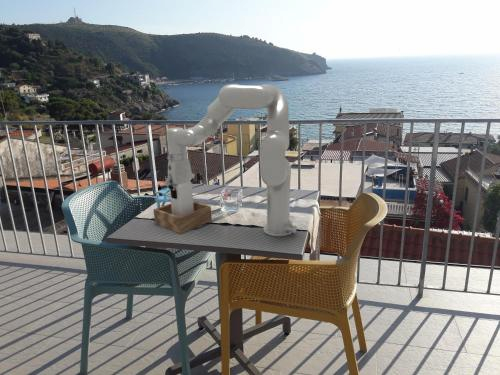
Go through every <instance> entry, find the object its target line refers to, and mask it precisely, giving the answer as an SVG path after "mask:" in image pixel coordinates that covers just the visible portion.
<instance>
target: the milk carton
mask: <svg viewBox="0 0 500 375" xmlns="http://www.w3.org/2000/svg"><path fill="white" fill-rule="evenodd" d="M169 184H170V183H169ZM173 185H174V184H173ZM175 190H176V192H177V199H174V198H172V197H171V190H170V192H169V196H170V200H169V201H170V204H171V210H172V214H173V215H176V216H179V217H181V216H184V215H186V214H189V213H191V212H194V206H193V201H194V197H193V182H192V183H191V181H187V182H184V183H181V184H178V185H176V188H175Z"/></svg>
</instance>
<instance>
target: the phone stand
mask: <svg viewBox="0 0 500 375" xmlns="http://www.w3.org/2000/svg"><path fill="white" fill-rule="evenodd" d="M154 193H155V196H156V198H154V201H155V202H156V206H157V207H156V208H159V207H162V206H165V205H166V203H168V202H169V201H171V200H170V195H168V194H170V189H169V188H168V187H164V188H161V189H159V190H158V191H155V192H154ZM158 194H161V196H159V195H158Z"/></svg>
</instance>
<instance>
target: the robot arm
mask: <svg viewBox="0 0 500 375" xmlns="http://www.w3.org/2000/svg"><path fill="white" fill-rule="evenodd" d="M263 109H266V110H267V111H266V112H267V114H266V135H265V136H264V137H262V140H261V142H260V146H259V147H260V148H259V149H260V150H259V156H260V157H259V161H260V162H259V164H260V165H259V166H260V168H259V170H260V172H259V173H260V177H261V180H262V182H263V183H264V184H265V186H266V225H264V226H263V232H264V234H266V235H269V236H272V237H285V236H290V235H291V234H293V233H297V229H298V226H297V225H293V221H292V220H291V207H290V206H291V177H292V176H291V175H292V167H291V163H290V161H289V160H288V159H287V157H286V152H287V151H288V149H289V146H290V118H289V117H290V114H289V113H290V112H289V111H290V110H289V102H288V99H287V97H286V95H285V93H283V91H281V89H279V87H276V86H274V85H273V84H266V83H265V84H260V85H241V84H238V83H230V84H226V85H224V86H223V87H221V89H220V90H219V92H218V96H217V97H216V99H214V100H213V101H212V102H211V103H210V105H208V106H207V108H206V110H207V111H206V114H205V115H204V116H203V118H202V119H201V120H200V121H199V122H198V123H197V124H196V125H195V126H194V125H193V126H192V127H189V128H185V129H184V128H183V127H180V126H179V127H177V126H176V127H169V128H168V129H166V138H167V139H166V140H167V150H168V156H167V160H168V163H167V178H166V179H165V181H164V182H163V184H164V186H166V188H169V189H170V190H171V197H172V198H174V199H177V192H176V190H175V188H176V185H178V184H181V183H184V182H187V181H191V183H192V184H193V181H194V179H195V178H194V177H195V176H196V175H195V173H193V172H192V166H191V162H190V160H189V157H188V155H187V147H188V148H193V147H195V146H197V145H199V144H201V143H204V142H205V141H206V140H207V139H209V137H210V136H211V135H213V134H214V133H215V132H216V131H217V130H218V129H219V127H221V125H222V124H223V123H224V122H225V121H226V120H227V119H229V117H230V116H231V115H233V113H235V112H236V111H237V110H255V111H256V110H257V111H258V110H263ZM169 183H170V184H169ZM173 184H174V185H173Z"/></svg>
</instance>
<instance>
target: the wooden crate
mask: <svg viewBox="0 0 500 375" xmlns="http://www.w3.org/2000/svg"><path fill="white" fill-rule="evenodd" d="M161 206H162V205H161ZM161 206H160V207H159V208H157V207H156V208H154V209H153V215H154V216H153V218H154V224H155V225H156V226H160V227H162V228H164V229H168V230H169V231H173V232H175V233H179V234H181V235H182V234H183V233H184V234H185V233H186V232H188V231H191V230H194V229H195V228H199V227H200V226H204V225H205V224H207V223H210V222H212V221H213V219H212V218H213V217H212V206H211V205H208V204H205V203H201V202H197V201H194V200H193V206H194V212H191V213H189V214H186V215H184V216H181V217H179V216H176V215H173V214H172V210H171V203H168V204H165V205H164V206H162V207H161Z"/></svg>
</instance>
